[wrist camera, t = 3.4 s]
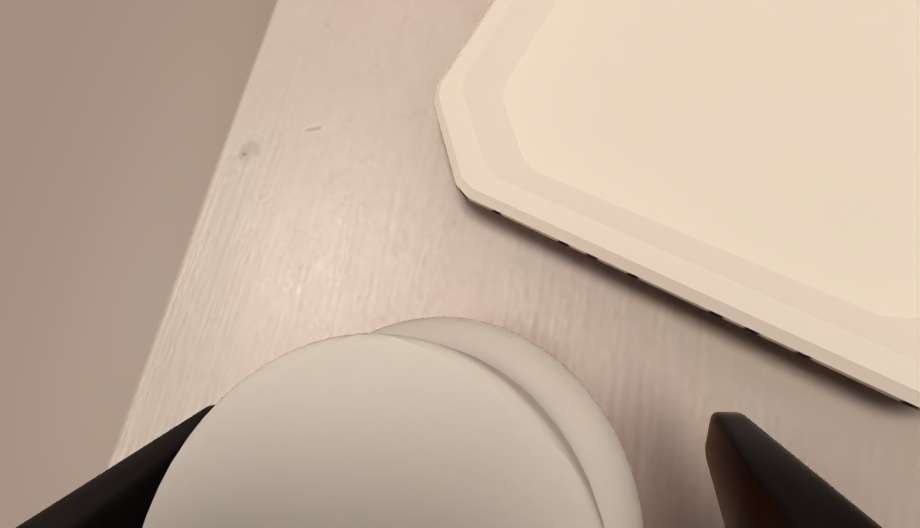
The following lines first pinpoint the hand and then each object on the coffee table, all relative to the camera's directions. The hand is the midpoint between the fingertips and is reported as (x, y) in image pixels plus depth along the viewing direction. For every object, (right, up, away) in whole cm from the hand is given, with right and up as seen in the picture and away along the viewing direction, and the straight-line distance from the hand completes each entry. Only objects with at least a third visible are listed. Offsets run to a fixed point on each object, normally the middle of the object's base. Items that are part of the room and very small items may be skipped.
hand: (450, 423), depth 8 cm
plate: (+12, +10, +8) cm, 18 cm away
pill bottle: (+1, -3, +6) cm, 7 cm away
